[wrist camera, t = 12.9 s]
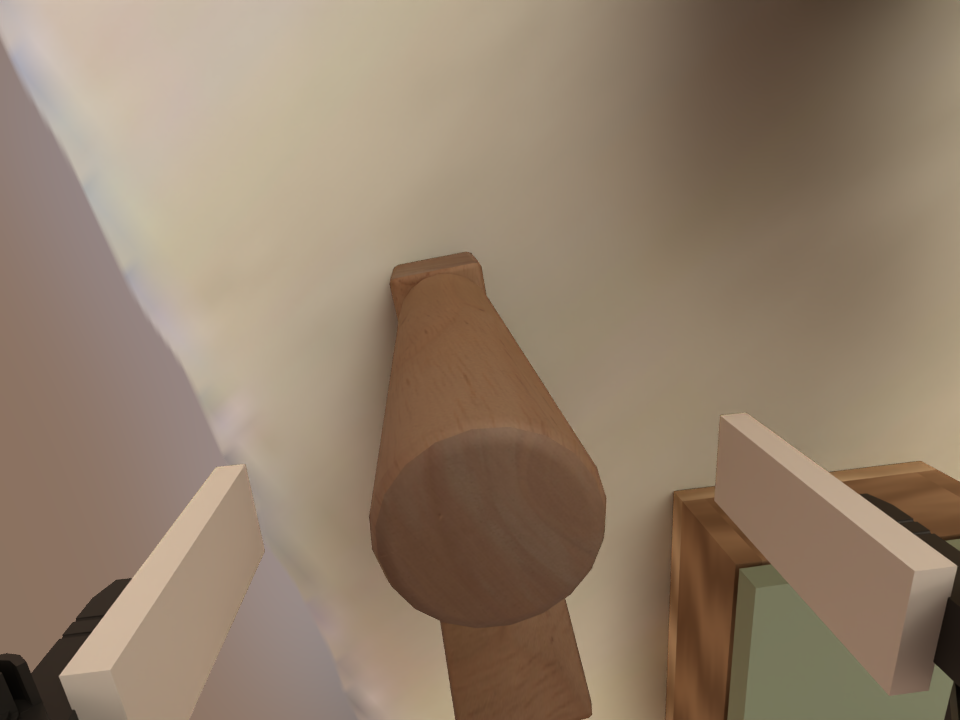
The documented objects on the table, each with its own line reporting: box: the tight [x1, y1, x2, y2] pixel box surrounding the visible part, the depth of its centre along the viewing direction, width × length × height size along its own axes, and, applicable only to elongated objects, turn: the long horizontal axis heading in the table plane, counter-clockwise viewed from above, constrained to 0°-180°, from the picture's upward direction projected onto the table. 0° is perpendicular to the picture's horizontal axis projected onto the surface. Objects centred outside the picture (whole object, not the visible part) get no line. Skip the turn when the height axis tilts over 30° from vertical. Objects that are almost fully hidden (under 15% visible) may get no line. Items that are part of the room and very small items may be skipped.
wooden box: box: [665, 461, 960, 720], centre depth 29 cm, size 16×14×6 cm
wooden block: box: [369, 252, 606, 720], centre depth 18 cm, size 4×11×18 cm, turn 10°
